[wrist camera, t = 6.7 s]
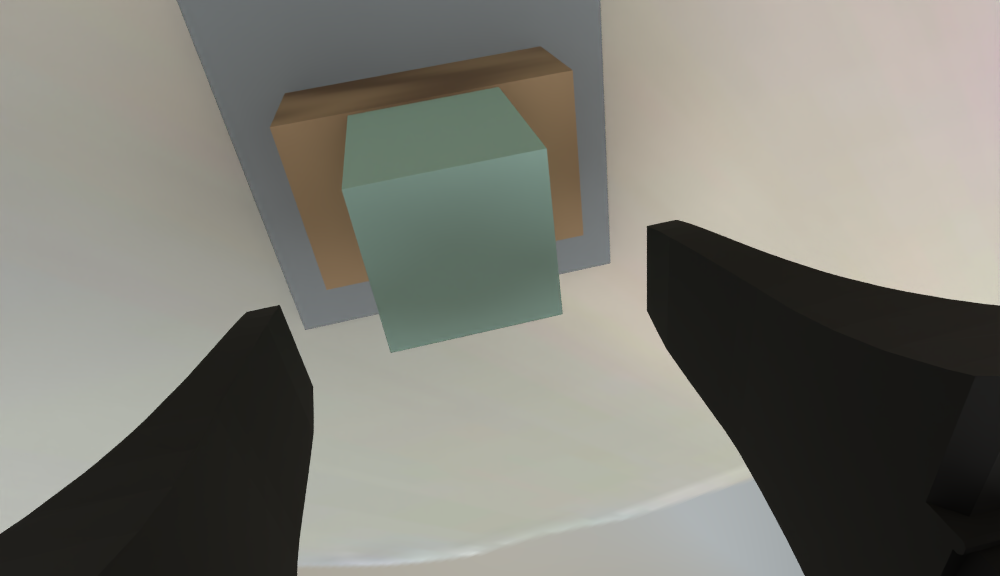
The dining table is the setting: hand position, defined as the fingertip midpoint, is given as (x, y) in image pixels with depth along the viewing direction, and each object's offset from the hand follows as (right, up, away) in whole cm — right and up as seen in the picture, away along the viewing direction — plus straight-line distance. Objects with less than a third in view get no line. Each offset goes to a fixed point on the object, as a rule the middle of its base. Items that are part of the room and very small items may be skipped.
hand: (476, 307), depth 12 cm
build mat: (-2, +5, +9) cm, 10 cm away
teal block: (-1, +4, +5) cm, 6 cm away
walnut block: (-2, +5, +8) cm, 10 cm away
